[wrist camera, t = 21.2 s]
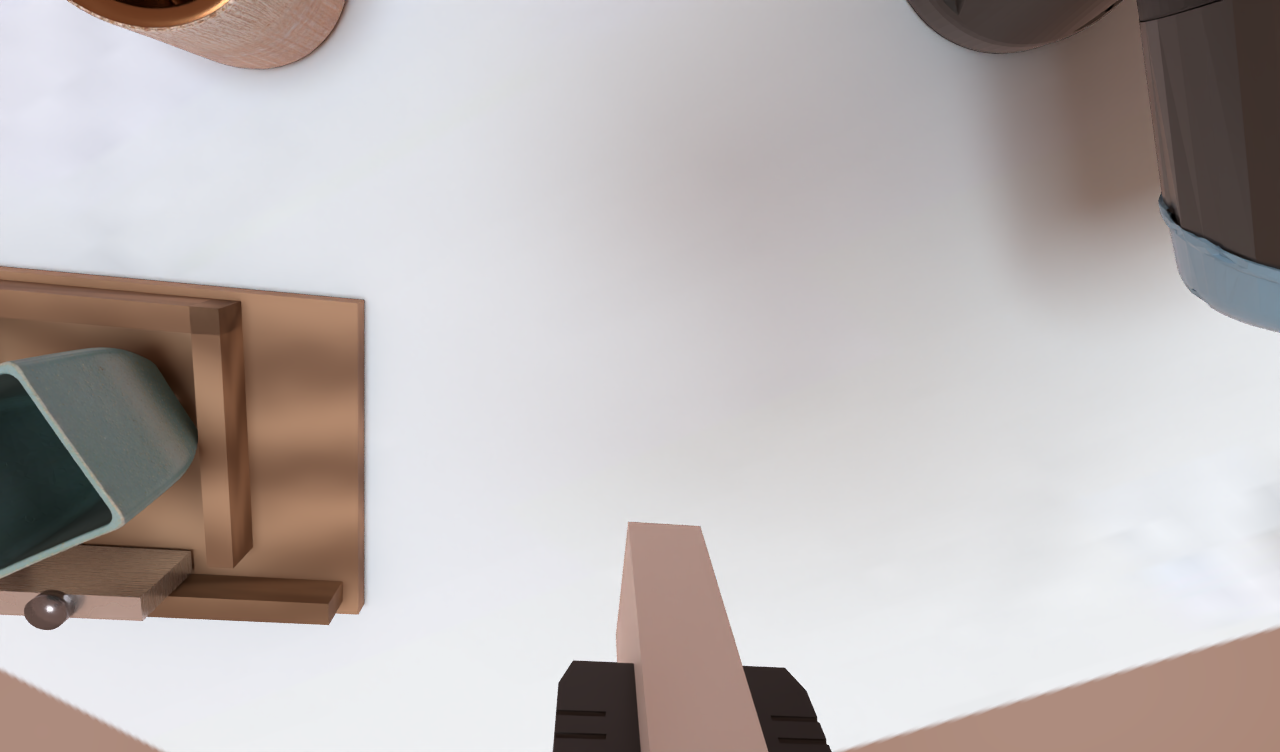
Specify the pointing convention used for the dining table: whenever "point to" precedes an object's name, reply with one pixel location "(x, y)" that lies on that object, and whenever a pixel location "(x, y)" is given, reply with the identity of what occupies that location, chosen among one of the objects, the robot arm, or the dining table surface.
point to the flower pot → (83, 448)
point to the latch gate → (93, 584)
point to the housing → (232, 432)
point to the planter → (227, 26)
